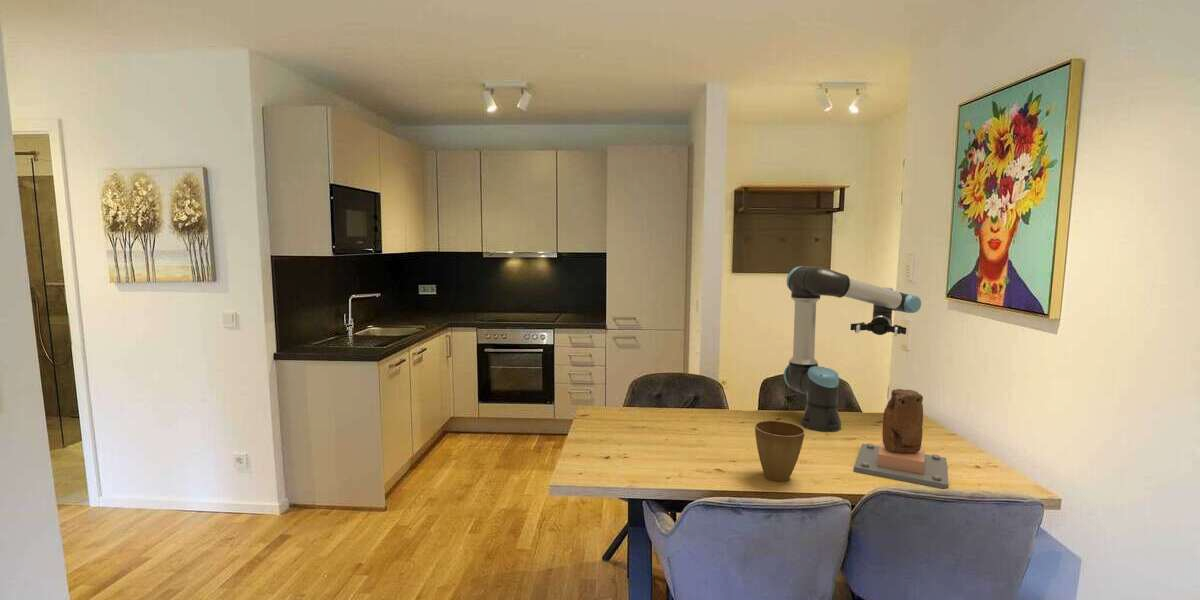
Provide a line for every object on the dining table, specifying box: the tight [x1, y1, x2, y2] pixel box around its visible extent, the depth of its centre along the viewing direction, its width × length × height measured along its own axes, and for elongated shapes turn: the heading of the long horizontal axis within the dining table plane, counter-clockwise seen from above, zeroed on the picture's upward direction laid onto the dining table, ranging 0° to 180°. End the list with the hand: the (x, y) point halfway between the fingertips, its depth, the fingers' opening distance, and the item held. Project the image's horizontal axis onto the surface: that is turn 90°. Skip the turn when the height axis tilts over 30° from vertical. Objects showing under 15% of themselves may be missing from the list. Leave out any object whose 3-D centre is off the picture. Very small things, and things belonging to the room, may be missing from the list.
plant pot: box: [754, 420, 806, 483], centre depth 174 cm, size 15×15×16 cm
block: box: [882, 388, 924, 453], centre depth 183 cm, size 11×8×20 cm
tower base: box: [853, 439, 950, 489], centre depth 184 cm, size 26×26×6 cm
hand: (876, 331), depth 219 cm, fingers open, 13 cm apart
